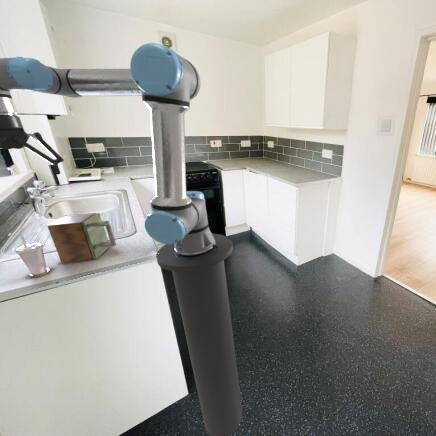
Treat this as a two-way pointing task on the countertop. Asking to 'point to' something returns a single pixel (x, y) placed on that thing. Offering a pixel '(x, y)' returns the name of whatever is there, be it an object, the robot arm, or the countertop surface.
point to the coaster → (40, 274)
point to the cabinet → (71, 238)
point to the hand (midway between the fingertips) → (29, 188)
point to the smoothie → (32, 256)
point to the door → (98, 235)
